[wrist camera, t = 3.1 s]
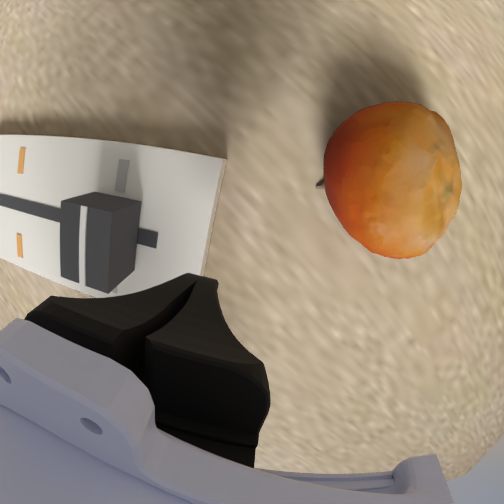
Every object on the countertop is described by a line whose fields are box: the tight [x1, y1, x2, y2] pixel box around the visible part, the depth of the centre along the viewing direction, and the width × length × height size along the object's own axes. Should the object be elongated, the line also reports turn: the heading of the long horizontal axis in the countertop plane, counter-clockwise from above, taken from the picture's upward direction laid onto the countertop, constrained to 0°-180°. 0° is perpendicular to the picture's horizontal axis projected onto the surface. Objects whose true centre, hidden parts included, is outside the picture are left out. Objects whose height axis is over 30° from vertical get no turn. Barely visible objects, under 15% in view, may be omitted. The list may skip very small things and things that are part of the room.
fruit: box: [316, 102, 462, 259], centre depth 14 cm, size 8×8×8 cm
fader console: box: [0, 134, 227, 298], centre depth 18 cm, size 22×11×2 cm, turn 77°
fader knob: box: [60, 192, 142, 294], centre depth 15 cm, size 4×4×4 cm
